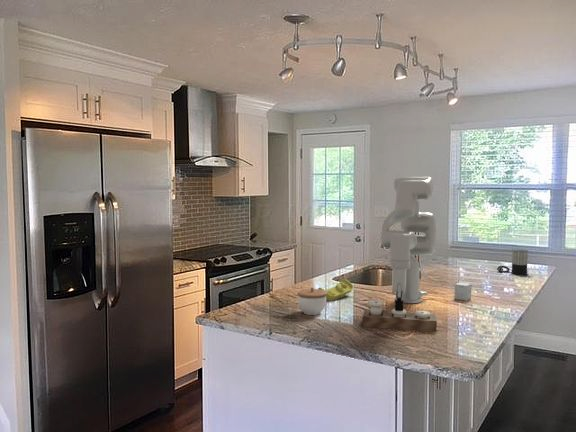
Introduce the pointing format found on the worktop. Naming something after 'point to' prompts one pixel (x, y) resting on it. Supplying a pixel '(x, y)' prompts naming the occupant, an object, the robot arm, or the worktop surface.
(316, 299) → the lidded bowl
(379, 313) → the knob
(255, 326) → the worktop surface
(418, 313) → the knob
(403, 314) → the knob
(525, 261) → the milk frother
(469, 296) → the product box
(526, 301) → the worktop surface
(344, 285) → the plastic component
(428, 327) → the mount
